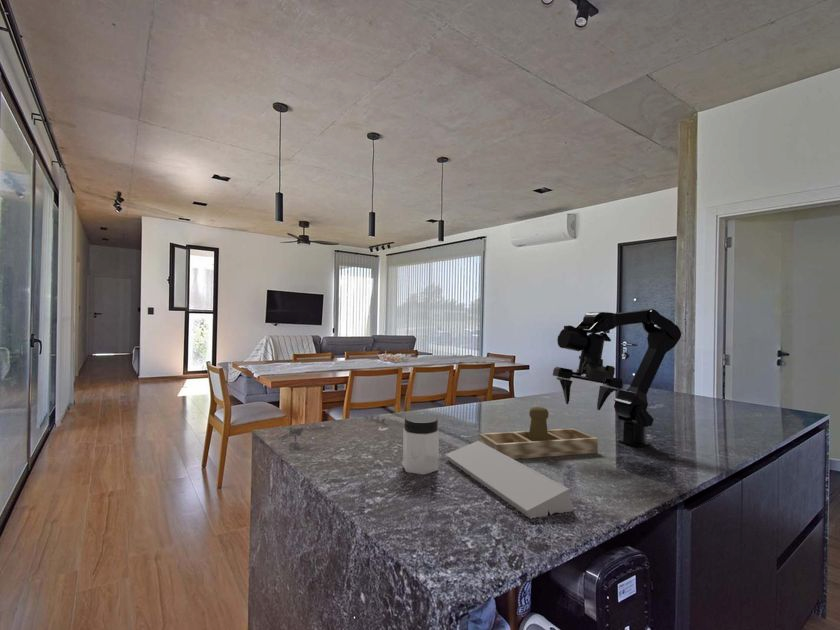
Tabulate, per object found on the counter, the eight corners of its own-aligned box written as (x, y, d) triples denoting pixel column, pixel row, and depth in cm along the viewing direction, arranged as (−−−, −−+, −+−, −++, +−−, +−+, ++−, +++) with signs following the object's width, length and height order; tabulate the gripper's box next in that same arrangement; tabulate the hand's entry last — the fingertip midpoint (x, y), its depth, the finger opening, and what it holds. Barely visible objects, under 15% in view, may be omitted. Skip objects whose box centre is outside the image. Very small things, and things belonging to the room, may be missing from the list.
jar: (396, 471, 100) (398, 420, 100) (408, 460, 108) (409, 413, 108) (433, 476, 97) (434, 424, 97) (442, 465, 105) (443, 416, 105)
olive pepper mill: (531, 442, 123) (532, 404, 123) (552, 446, 120) (553, 407, 120) (524, 447, 118) (524, 407, 118) (545, 451, 115) (546, 410, 115)
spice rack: (573, 441, 128) (573, 428, 128) (597, 452, 118) (597, 438, 118) (478, 447, 120) (479, 433, 120) (496, 460, 109) (496, 444, 109)
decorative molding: (532, 535, 77) (574, 512, 81) (527, 510, 77) (569, 488, 81) (449, 471, 109) (482, 457, 113) (445, 454, 108) (478, 440, 112)
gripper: (568, 348, 116) (559, 405, 115) (636, 361, 116) (627, 418, 115) (556, 348, 127) (547, 399, 126) (618, 359, 127) (610, 411, 126)
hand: (582, 406), depth 123 cm, fingers open, 9 cm apart
